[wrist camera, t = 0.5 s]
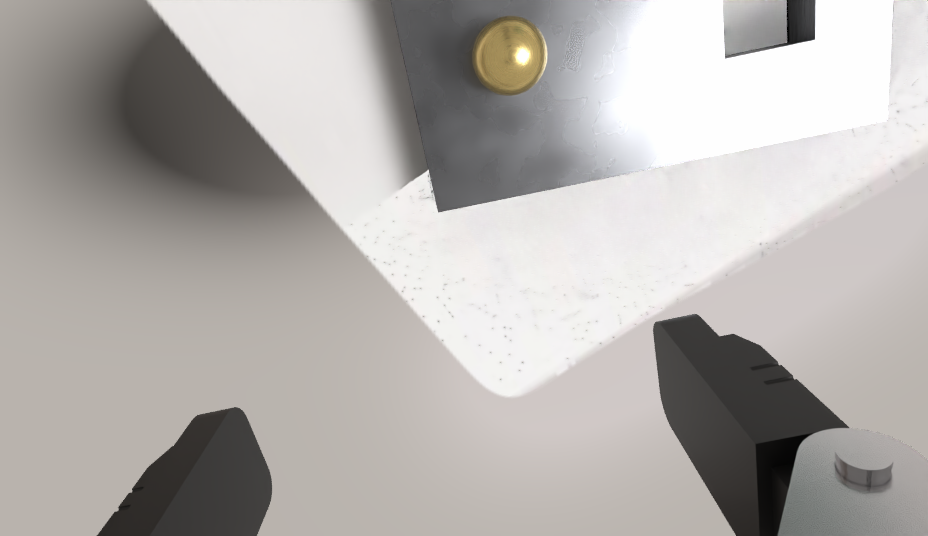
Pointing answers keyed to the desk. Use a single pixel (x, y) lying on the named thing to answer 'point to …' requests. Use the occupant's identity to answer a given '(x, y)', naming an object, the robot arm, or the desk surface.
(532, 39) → the brass knob
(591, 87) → the bore plate
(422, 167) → the desk surface
